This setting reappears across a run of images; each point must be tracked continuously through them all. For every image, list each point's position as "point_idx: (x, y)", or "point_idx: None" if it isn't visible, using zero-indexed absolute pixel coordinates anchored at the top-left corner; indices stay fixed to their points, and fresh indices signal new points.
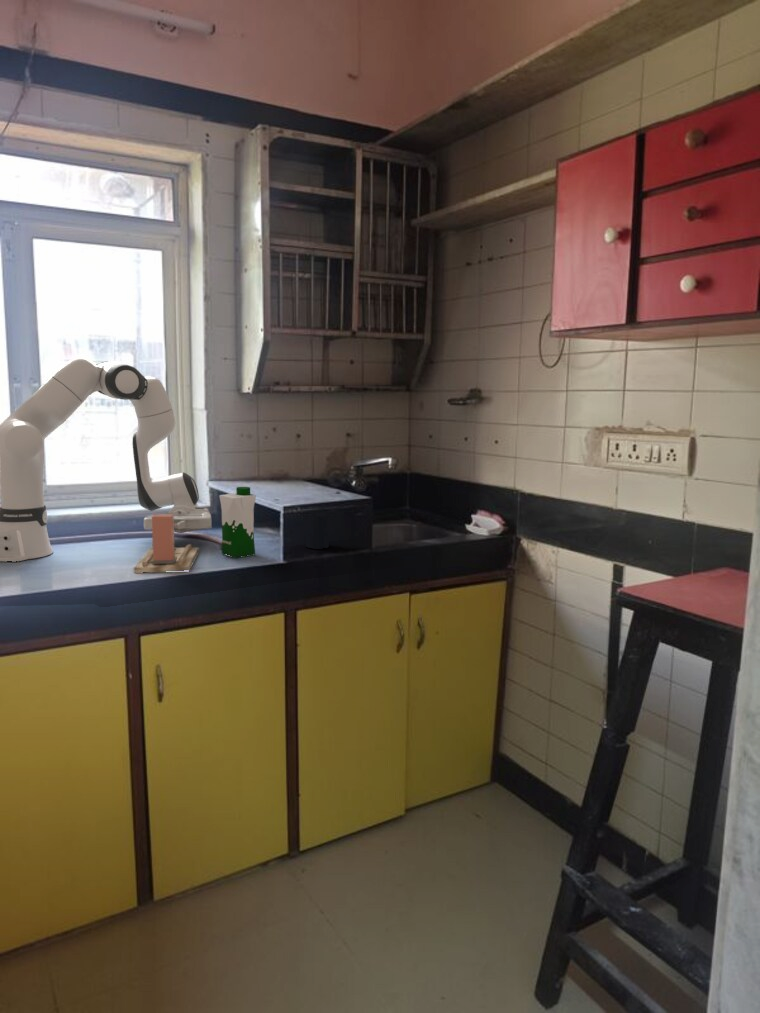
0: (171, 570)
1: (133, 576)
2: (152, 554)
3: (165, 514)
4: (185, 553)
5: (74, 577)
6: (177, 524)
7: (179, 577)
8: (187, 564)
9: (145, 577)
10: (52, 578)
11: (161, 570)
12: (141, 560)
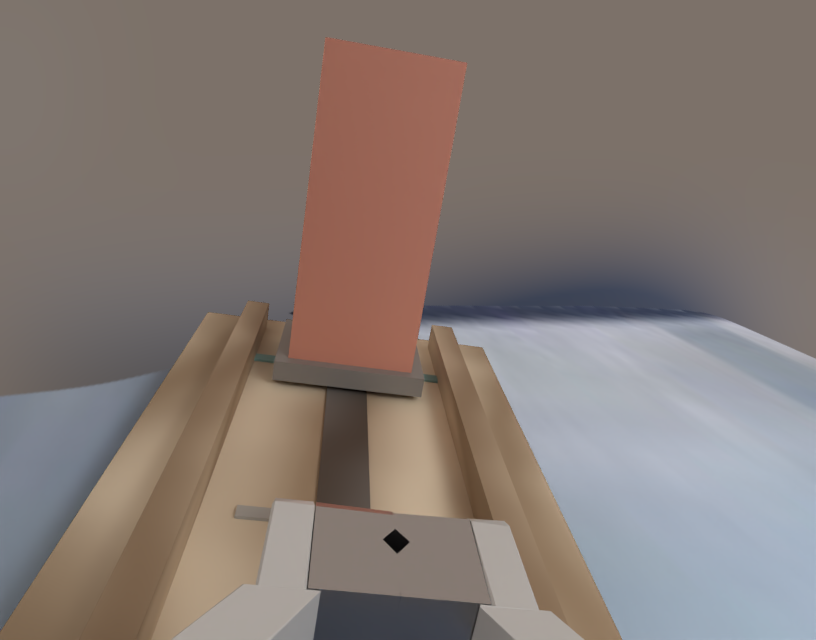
0: None
1: None
2: (458, 413)
3: (383, 48)
4: (207, 385)
5: (699, 382)
6: (327, 504)
7: None
8: (208, 331)
9: None
10: (773, 388)
11: None
12: (507, 419)
